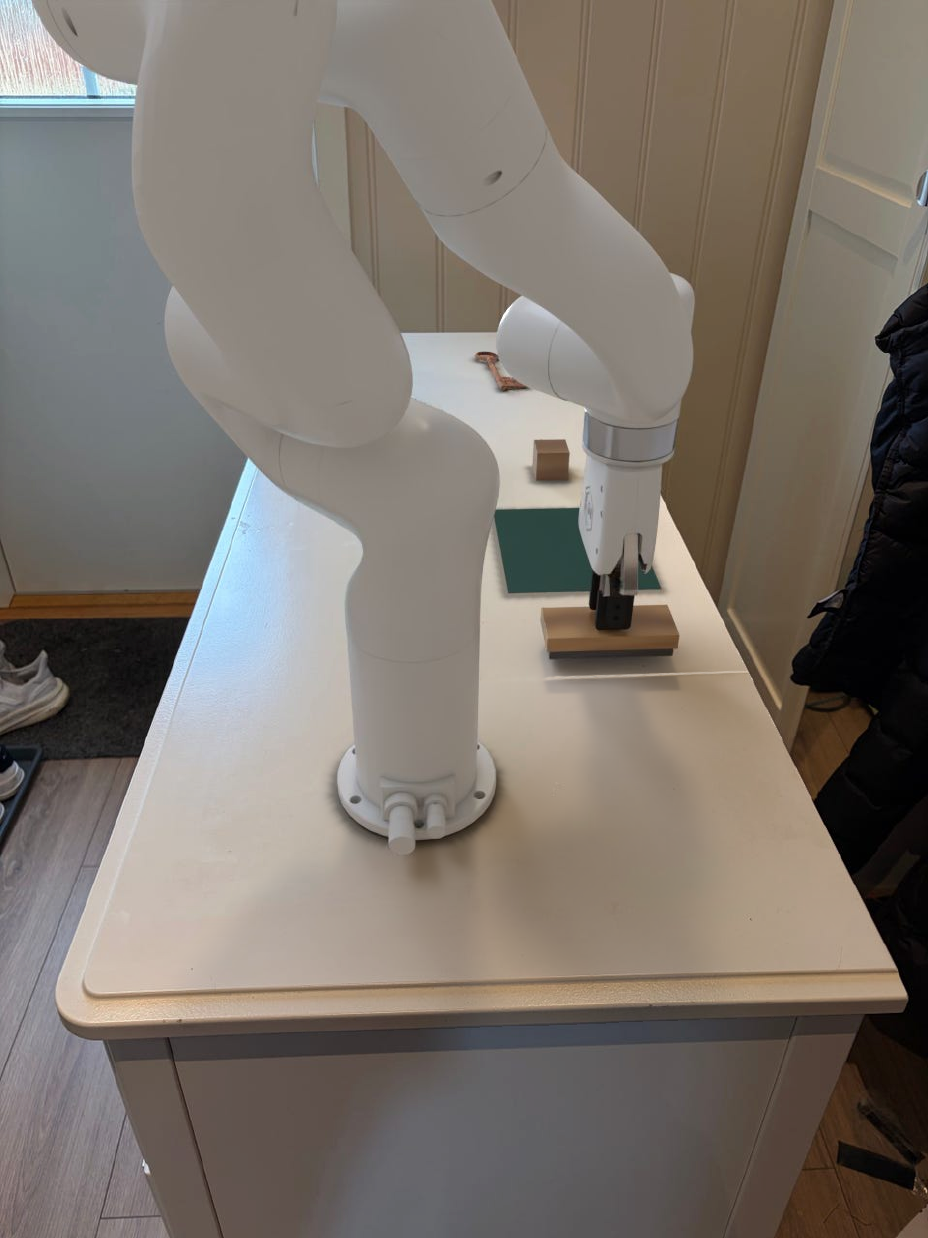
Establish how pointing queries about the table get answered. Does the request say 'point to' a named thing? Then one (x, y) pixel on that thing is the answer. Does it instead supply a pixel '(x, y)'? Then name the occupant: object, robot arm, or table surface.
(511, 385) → the key
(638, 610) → the brush
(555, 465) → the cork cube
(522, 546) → the mat
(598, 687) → the table surface
